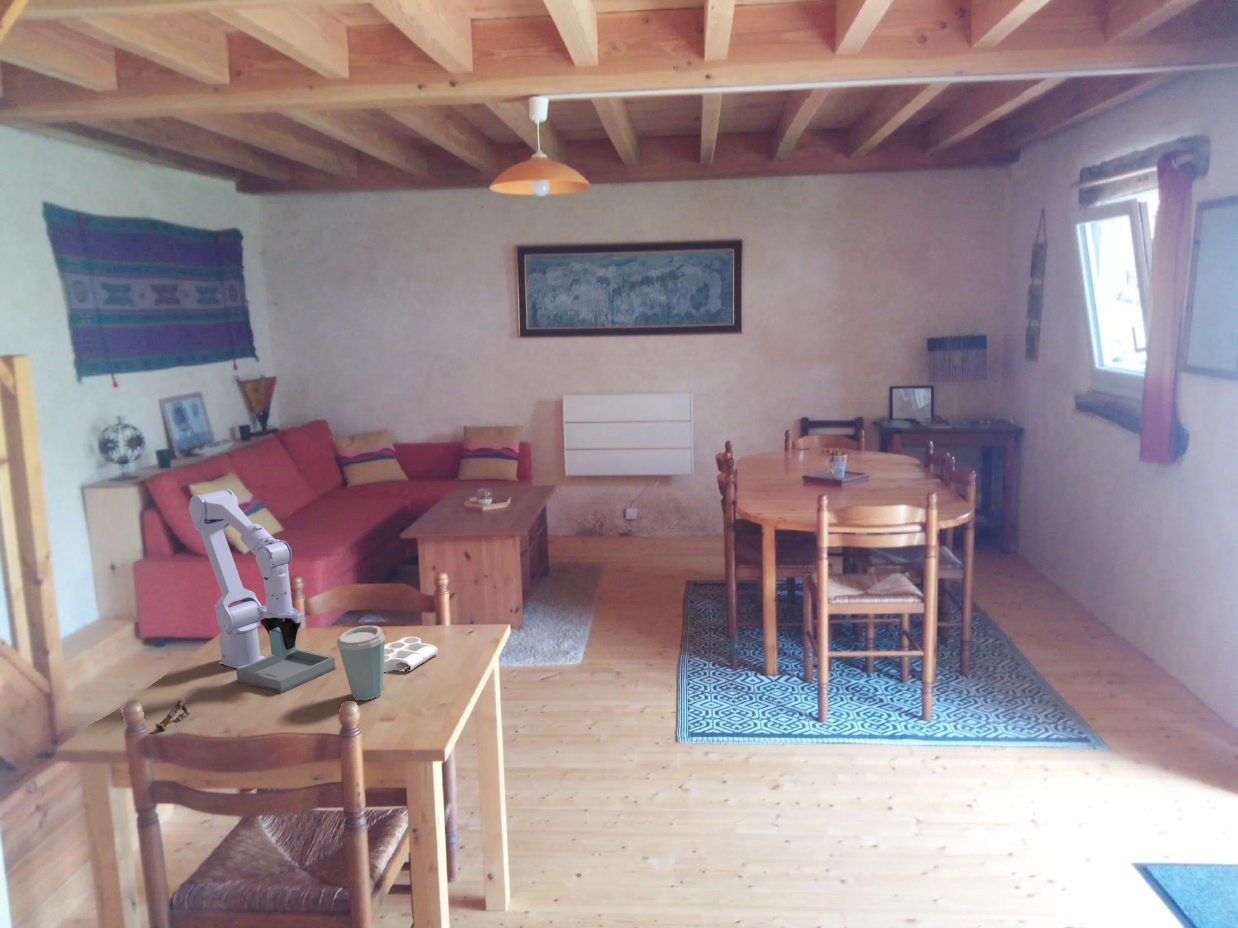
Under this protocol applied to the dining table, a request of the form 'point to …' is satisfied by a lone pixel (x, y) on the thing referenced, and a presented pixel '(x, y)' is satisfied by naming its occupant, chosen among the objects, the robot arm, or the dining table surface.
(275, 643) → the block
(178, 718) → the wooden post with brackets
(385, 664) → the white muffin tin
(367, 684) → the disposable coffee cup
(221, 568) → the robot arm
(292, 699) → the dining table surface
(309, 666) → the tray
